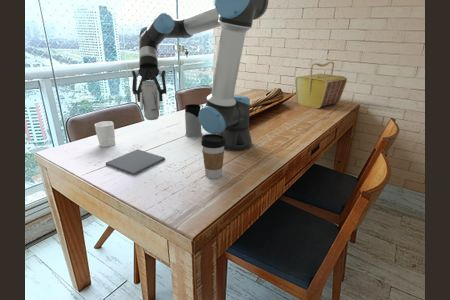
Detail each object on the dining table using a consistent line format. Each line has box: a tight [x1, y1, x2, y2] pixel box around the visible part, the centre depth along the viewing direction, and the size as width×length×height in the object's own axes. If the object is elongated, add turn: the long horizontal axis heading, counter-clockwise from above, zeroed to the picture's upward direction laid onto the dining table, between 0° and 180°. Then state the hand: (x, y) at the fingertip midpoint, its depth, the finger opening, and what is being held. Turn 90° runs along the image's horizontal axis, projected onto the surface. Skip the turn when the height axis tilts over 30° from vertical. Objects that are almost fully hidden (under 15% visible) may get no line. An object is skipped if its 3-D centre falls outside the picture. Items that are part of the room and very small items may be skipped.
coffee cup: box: [200, 133, 225, 180], centre depth 96 cm, size 8×8×15 cm
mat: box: [105, 148, 166, 176], centre depth 108 cm, size 16×16×1 cm
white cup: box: [94, 120, 116, 148], centre depth 124 cm, size 8×8×10 cm
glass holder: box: [184, 103, 204, 139], centre depth 138 cm, size 9×14×15 cm, turn 152°
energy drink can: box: [141, 80, 160, 121], centre depth 110 cm, size 6×6×15 cm
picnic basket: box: [294, 61, 348, 110], centre depth 197 cm, size 29×26×30 cm
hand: (150, 108), depth 107 cm, fingers closed on energy drink can, 6 cm apart
